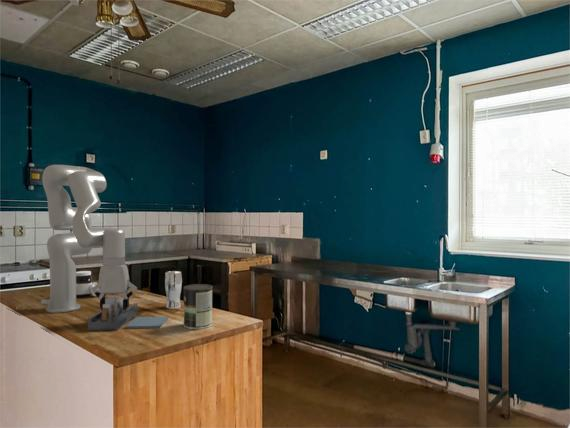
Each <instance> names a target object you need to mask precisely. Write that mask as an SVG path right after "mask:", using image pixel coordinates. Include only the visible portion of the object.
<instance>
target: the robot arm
mask: <svg viewBox="0 0 570 428" xmlns="http://www.w3.org/2000/svg"><path fill="white" fill-rule="evenodd" d="M42 172H43V173H42V179H41V180H42V181H41V182H42V186H43V190H44V192H45V195H46V199H47V211H48V220H49V226H50V229H52V230H55V231H73V232H64V233H56V234H54V235H51V236H50V237H49V238H48V239H47V241H46V249H47V253H48V258H49V291H50V293H49V299H41V302H40V305H41V306H47V307H46V308H45V311H46V312H47V313H50V314H51V313H52V314H53V313H54V314H55V313H56V314H57V313H59V314H60V313H68V312H72V311H76V310H79V309H81V304H80V303H77V298H76V272H77V266H76V263H75V262H74V260H73V259H72V258H71V257H73V256H81V255H86V254H89V253H90V252H91V251H92V249H98V248H99V249H100V248H101V249H103V250H102V254H103V255H102V258H99V263H100V264H102V265H101V266H100V269H99V275H98V282H97V285H95V286H94V287H93V288H92V291H93V292H94V293H95V295H96V296H97V297H96V298H98V300H99V307H100V311H101V310H102V309H103V304H104V303H105V299H106V298H107V297H106V295H107V294H109V295H111V294H121V295H122V297H123V298H122V299H123V310H126V309H127V308H128V307H129V306H130V297H131V296H132V295H134V293H136V291H137V289H138V287H137V286H136V285H135V284H133V283H131V281H130V275H129V269H128V265H127V264H126V232H125V230H123V229H122V228H112V227H92V221H91V215H90V214H91V213H93V212H95V211H97V210H98V209H99V208H100V207H101V204H102V203H101V200H100V197H99V195H98V193H103V192H104V191H105V190H106V189H107V186H108V185H107V180H106V177H105V176H104V174H103V173H101V172H100V171H96V170H94V169H92V168H89V167H85V166H78V165H77V166H75V165H68V164H51V165H48V166H47V167H45V168H44V170H43V171H42ZM64 186H65V187H66V186H67V187H69V189H70V191H71V195H72V198H73V200H74V202H75V205H76V207H73V206H72V201H71V196H70V194H69V193H68V191H67V190H66V189H65V188H64ZM129 290H130V291H129Z"/></svg>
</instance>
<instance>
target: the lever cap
mask: <svg viewBox="0 0 570 428" xmlns="http://www.w3.org/2000/svg"><path fill="white" fill-rule="evenodd" d="M105 298H106V299H105V303H104V304H103V308H109V317H116V316H118V315H119V314H120V313H122V312H123V311H125V310H123V299H124V298H121V295H110V296H107V297H105Z"/></svg>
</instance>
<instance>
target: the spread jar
mask: <svg viewBox="0 0 570 428" xmlns="http://www.w3.org/2000/svg"><path fill="white" fill-rule="evenodd" d="M97 284H98V282H96V281H95V282H93V277H92V271H91V270H82V271H81V270H80V271H79V270H78V271H76V299H77V298H78V299H79V298H80V299H81V298H89V297H91V296H93V297H95V298H98V297H97V296H96V295H95V293H94V292H93V291H92V288H93V287H94V286H95V285H97Z"/></svg>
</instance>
